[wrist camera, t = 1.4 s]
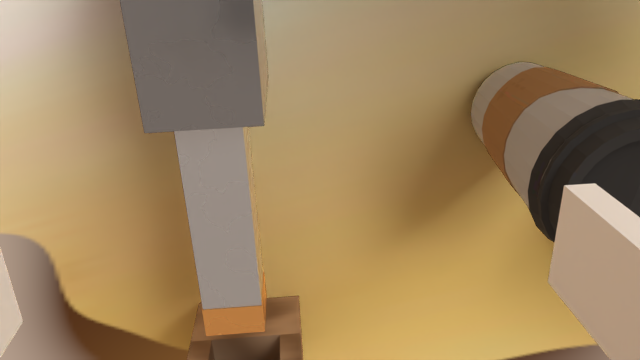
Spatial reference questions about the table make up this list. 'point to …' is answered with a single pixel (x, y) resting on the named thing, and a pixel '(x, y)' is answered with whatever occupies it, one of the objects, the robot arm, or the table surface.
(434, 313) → the table surface
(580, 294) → the robot arm
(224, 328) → the orange-tipped grey stick
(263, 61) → the grey rectangular block
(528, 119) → the coffee cup
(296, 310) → the socket
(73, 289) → the table surface
